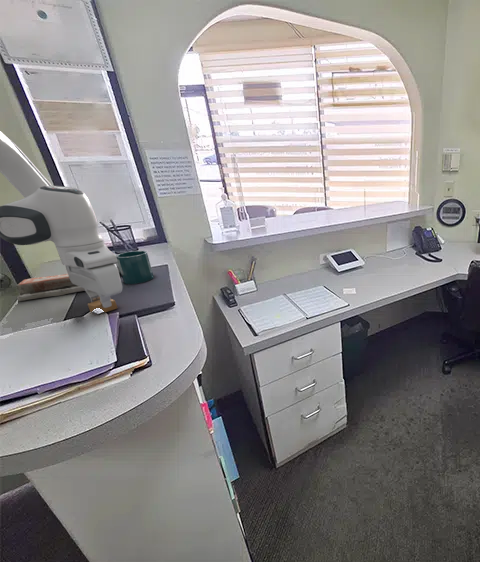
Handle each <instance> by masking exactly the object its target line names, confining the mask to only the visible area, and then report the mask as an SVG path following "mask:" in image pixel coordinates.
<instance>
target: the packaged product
mask: <svg viewBox="0 0 480 562" xmlns="http://www.w3.org/2000/svg"><path fill="white" fill-rule="evenodd" d="M16 290H17V291H18V293H19V294H18V295H17V296H16V299H17V301H18V302H22V301H23V302H24V301H29V300H35V299H42V298H50V297H58V296H63V295H67V294H73V293H80V292H86V291H85V289H84V288H82V287H80V286H77V285H75V284H73V283H72V282H71V281H70V279H69V276H68V273H65V274H55V275H48V276H41V277H32V278H27V279H26V278H25V279H23V280H22V281H20V282H19V283H18V284H17V285H16Z"/></svg>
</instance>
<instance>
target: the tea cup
mask: <svg viewBox="0 0 480 562" xmlns="http://www.w3.org/2000/svg"><path fill="white" fill-rule="evenodd" d="M115 255H116V258H117V262H118V265H119V268H120V272H121V274H120V276H121V278H122V281H123V283H124V284H126V285H136V284H141V283H146V282H148V281H151V280H153V279H154V278H155V276H154V272H153V269H152V265H151V261H150V258H149V255H148V251H147V250H132V251H126V252H121V253H118V254H115Z"/></svg>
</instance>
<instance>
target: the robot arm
mask: <svg viewBox="0 0 480 562" xmlns="http://www.w3.org/2000/svg"><path fill="white" fill-rule="evenodd" d="M0 173H1V174H2V175H3V176H4V177H5V179H6V180H7V181H9V183H10V184H11V185H12V186H13V187H14V188H15V189H16V190H17V191H18V193H20V195H21V196H22V197H24V198H21V199H19V200H15V201H13V202H8V203H5V204H2V205H0V238H1V239H2V240H3V241H4V242H5V241H6V242H8V243H10V244H12V245H16V246H34V245H37V244H40V243H44V242H45V243H46V242H52V243H53V244H54V246H55V248H56V251H57V253H58V257H59V259H60V261H61V264H62V265H63V266H65V270H66V274H68V276H69V279H70V281H71V282H72V283H73V284H75V285H77V286H80V287H82V288H84V289H85V291H84V292H85V293H86V294H87V296H88V297H89V299H90V303H91V302H94V301H98V300H101V301H100V304H101V306H102V307H104V308H107V307H110V306H112V303H111V299H112V297H113V296H115V295H119V294H121V293H122V292H123V283H122V280H121V274H119V272H118V269H117V266H116V265H115V264H114V263H115V262H117V258H116V255H117V254H115V253H114V252H113V251H111V250H110V249H109V248H108V246H107V245H106V242H105V240H104V237H103V236H102V234H101V233H100V231H99V221H98V219H97V215H96V213H95V210H94V207H93V205H92V203H91V200H90V199H89V198H88V195H86V194H85V192H83V191H82V190H81V189H78V188H76V187H72V186H64V185H53V184H51V182H50V181H49V179H47V178H46V176H45V175H44V174H43V173H42V172H41V171H40V170H39V169H38V167H37V166H36V165H35V164H34V163H33V161H32V160H30V158H29V157H28V156H27V155H26V154H25V153H24V152H23V150H21V148H20V147H19V146H17V144H16V143H15V142H13V140H12V139H10V138H9V137H8V136H7V135H6V134H4V133H3V132H2V131H1V130H0Z"/></svg>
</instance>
